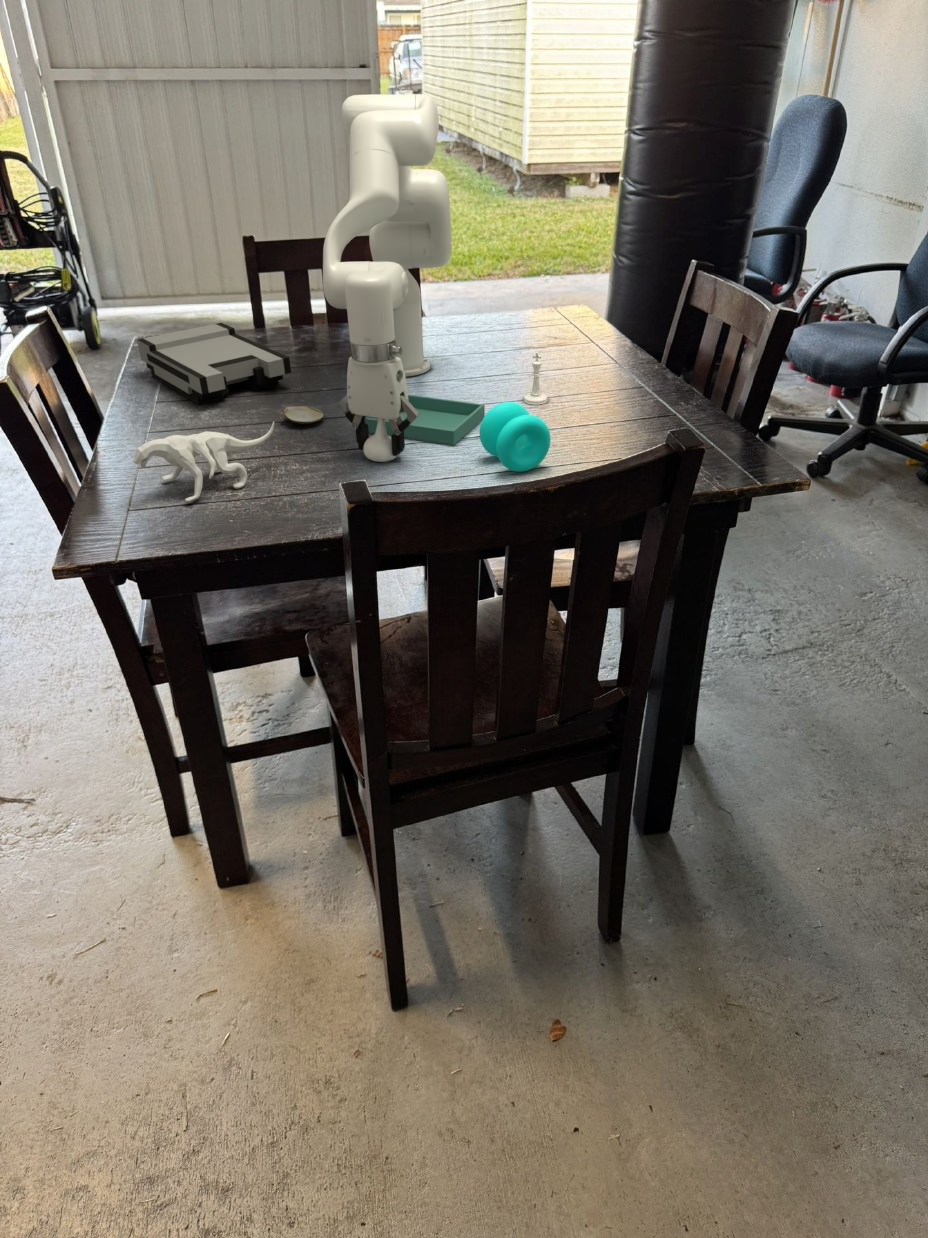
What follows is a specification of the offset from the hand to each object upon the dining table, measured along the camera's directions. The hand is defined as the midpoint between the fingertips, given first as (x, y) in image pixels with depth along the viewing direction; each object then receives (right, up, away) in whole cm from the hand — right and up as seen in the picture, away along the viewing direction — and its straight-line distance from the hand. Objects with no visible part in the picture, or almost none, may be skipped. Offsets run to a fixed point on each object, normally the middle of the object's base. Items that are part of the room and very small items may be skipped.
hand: (380, 449), depth 152 cm
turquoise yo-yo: (+24, -3, -2) cm, 24 cm away
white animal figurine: (-28, -7, -7) cm, 30 cm away
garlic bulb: (0, -1, +1) cm, 2 cm away
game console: (-41, +23, +38) cm, 60 cm away
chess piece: (+30, +15, +24) cm, 41 cm away
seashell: (-17, +9, +16) cm, 25 cm away
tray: (+7, +8, +14) cm, 17 cm away
